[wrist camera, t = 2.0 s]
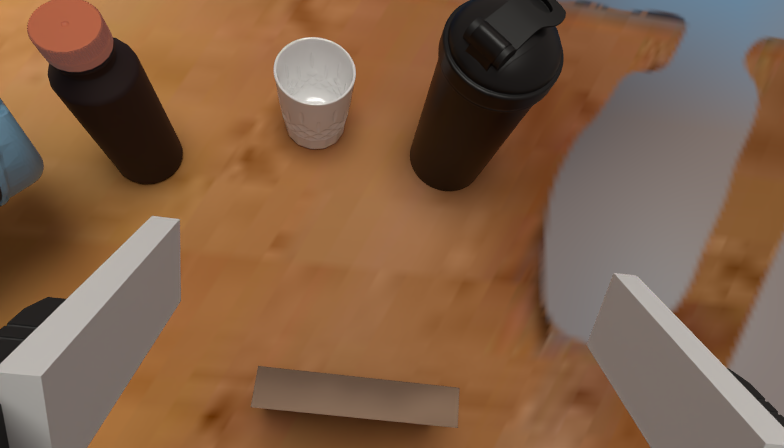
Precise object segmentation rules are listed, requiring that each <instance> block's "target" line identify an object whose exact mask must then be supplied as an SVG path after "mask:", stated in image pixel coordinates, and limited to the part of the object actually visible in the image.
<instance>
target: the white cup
mask: <svg viewBox="0 0 784 448" xmlns="http://www.w3.org/2000/svg"><path fill="white" fill-rule="evenodd" d="M274 77H275V82H276V87H277V92H278V98H279V102H280V106H281V111H282V115H283V119H284V121H285V126H286V129H287V131H288V134H289V136H290V137H291V138H292V139H293V140H294V141H295V142H296V143H297V144H298V145H301V146H303V147H306V148H309V149H324V148H326V147H328V146H330V145H332V144H334V143H336V142H337V140H338V139H339V138H340V136H341V135H342V134H343V131H344V125H345V121H346V119H347V116H348V112H349V107H350V103H351V98H352V92H353V87H354V82H355V77H356V70H355V65H354V62H353V60H352V58H351V56H350V55H349V54H348V53H347V51H346V50H345V49H343V48H342V47H341V46H340V45H338V44H336V43H334V42H332V41H330V40H327V39H323V38H316V37H309V38H302V39H298V40H295V41H293V42H291V43H289V44H288V45H286V46H285V47H284V48H283V49H282V50H281V51H280V52H279V54H278V55H277V57H276V60H275V63H274Z"/></svg>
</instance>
